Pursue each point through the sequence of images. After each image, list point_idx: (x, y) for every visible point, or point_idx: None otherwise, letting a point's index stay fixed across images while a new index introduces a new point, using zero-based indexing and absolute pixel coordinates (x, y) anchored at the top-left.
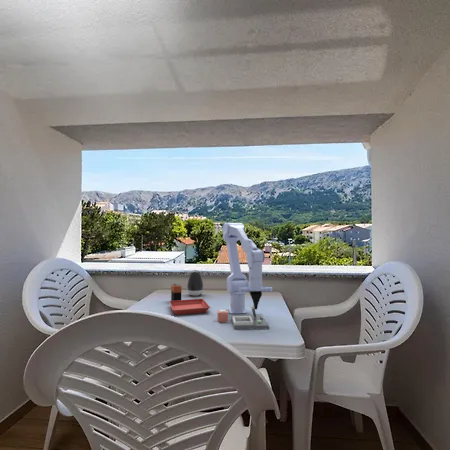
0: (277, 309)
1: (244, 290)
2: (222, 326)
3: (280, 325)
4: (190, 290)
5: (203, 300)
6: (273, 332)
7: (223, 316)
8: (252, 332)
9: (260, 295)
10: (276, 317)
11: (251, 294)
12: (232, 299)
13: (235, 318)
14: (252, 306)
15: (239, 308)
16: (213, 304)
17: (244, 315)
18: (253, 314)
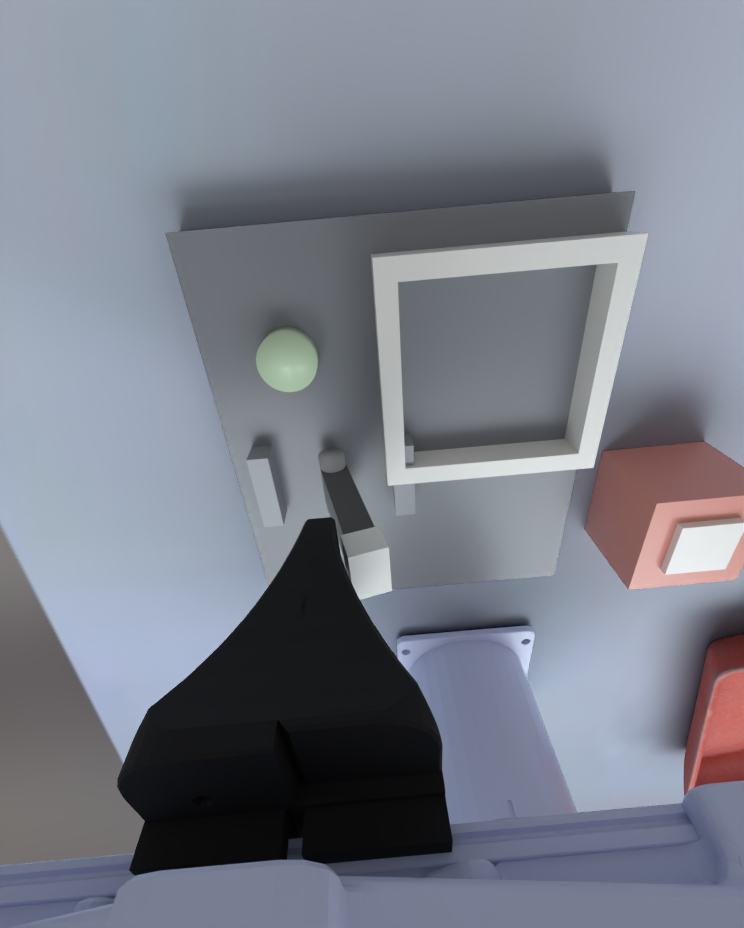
0: None
1: (627, 879)
2: (716, 297)
3: (52, 354)
4: None
5: (693, 783)
6: (91, 39)
7: (685, 474)
8: (399, 34)
9: (173, 710)
10: (136, 573)
11: (428, 726)
12: (551, 762)
13: (557, 445)
14: (372, 552)
15: (463, 672)
16: (595, 761)
17: (433, 559)
18: (355, 486)
